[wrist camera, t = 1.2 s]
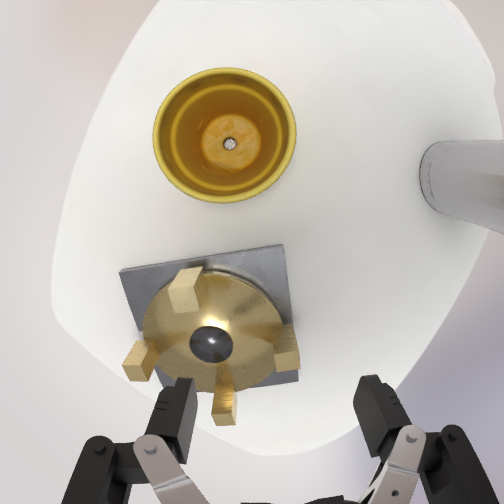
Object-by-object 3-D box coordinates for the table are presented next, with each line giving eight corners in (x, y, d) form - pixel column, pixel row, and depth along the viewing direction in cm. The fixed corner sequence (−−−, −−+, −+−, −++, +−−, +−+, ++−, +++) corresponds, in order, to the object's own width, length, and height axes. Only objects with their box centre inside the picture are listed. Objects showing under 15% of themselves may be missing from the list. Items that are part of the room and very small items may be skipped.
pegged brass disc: (281, 249, 29) (290, 271, 23) (297, 381, 34) (304, 416, 28) (119, 274, 30) (93, 298, 24) (166, 393, 35) (155, 425, 29)
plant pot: (220, 212, 29) (206, 233, 20) (164, 137, 27) (126, 124, 17) (301, 156, 28) (325, 150, 18) (243, 80, 25) (239, 42, 16)
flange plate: (282, 244, 30) (283, 247, 29) (297, 376, 36) (298, 382, 34) (122, 269, 31) (117, 273, 30) (167, 388, 37) (165, 394, 35)
